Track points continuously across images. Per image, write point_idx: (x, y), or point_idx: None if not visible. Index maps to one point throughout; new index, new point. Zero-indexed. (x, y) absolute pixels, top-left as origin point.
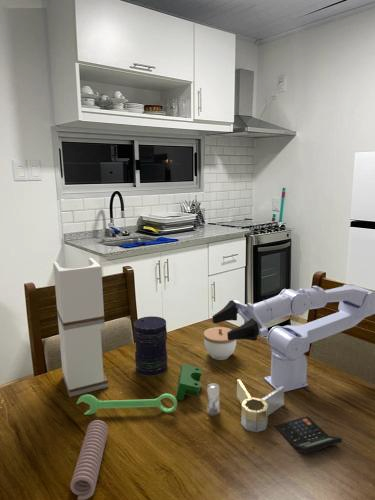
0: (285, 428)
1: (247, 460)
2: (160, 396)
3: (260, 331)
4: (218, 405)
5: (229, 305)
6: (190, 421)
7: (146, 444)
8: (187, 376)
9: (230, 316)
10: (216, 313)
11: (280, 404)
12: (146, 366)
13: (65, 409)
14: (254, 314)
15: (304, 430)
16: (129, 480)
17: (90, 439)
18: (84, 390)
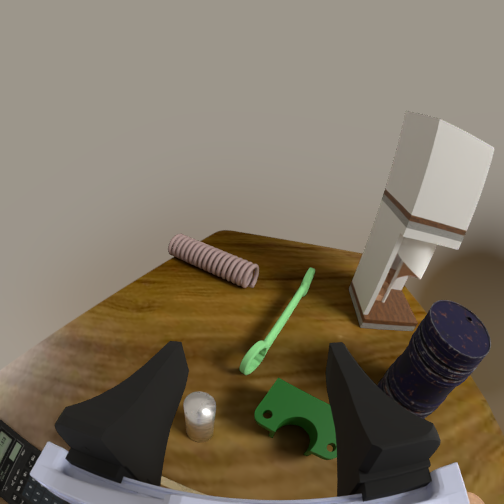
0: None
1: (70, 380)
2: (263, 341)
3: (57, 446)
4: (186, 426)
5: (384, 416)
6: (202, 383)
7: (199, 314)
8: (302, 408)
9: (342, 455)
10: (349, 354)
11: None
12: (387, 370)
13: (322, 280)
14: (133, 499)
15: (34, 491)
16: (162, 280)
17: (222, 252)
18: (354, 299)
